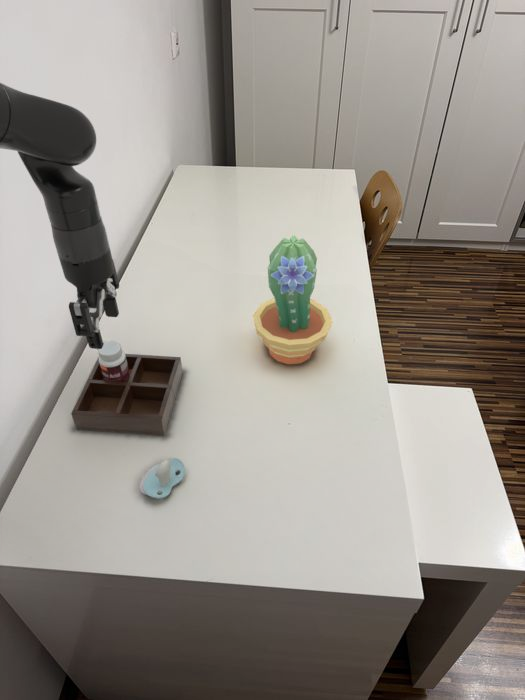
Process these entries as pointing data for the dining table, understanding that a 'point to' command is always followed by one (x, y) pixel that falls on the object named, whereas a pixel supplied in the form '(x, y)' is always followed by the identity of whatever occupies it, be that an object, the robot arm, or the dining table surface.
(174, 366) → the grid
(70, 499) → the dining table surface
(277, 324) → the potted cactus
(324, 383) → the dining table surface
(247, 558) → the dining table surface
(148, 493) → the pacifier
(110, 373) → the pill bottle
